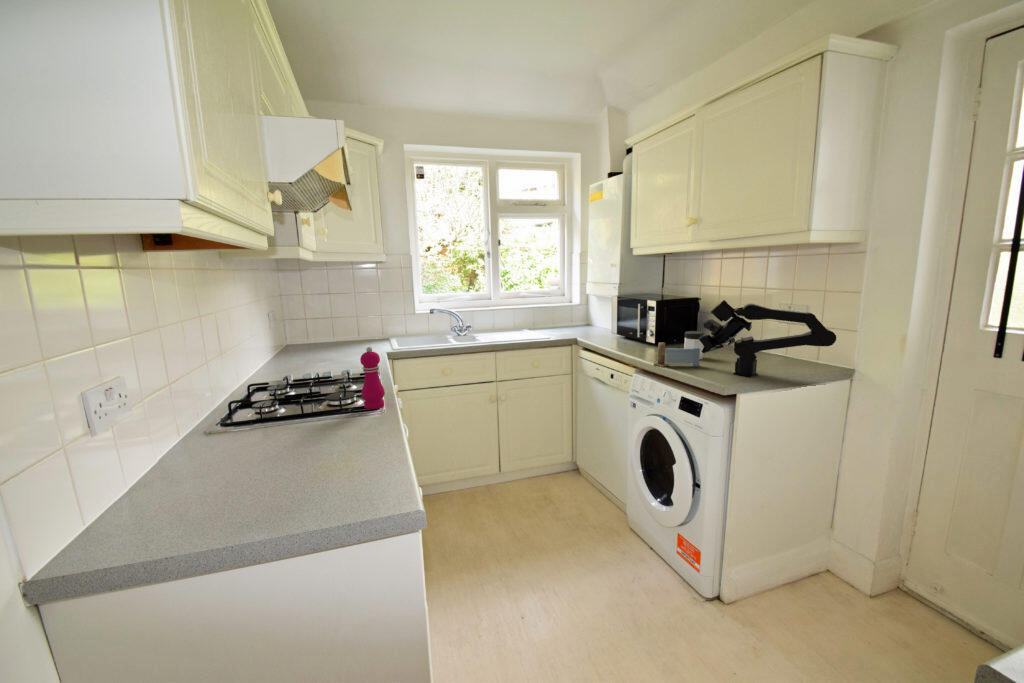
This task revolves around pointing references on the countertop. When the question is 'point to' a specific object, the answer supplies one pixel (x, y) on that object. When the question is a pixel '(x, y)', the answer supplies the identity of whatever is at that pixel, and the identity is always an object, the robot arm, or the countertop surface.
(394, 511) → the countertop surface
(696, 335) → the jar
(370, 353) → the pepper mill
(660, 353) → the hinge post
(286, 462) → the countertop surface
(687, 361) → the gate
